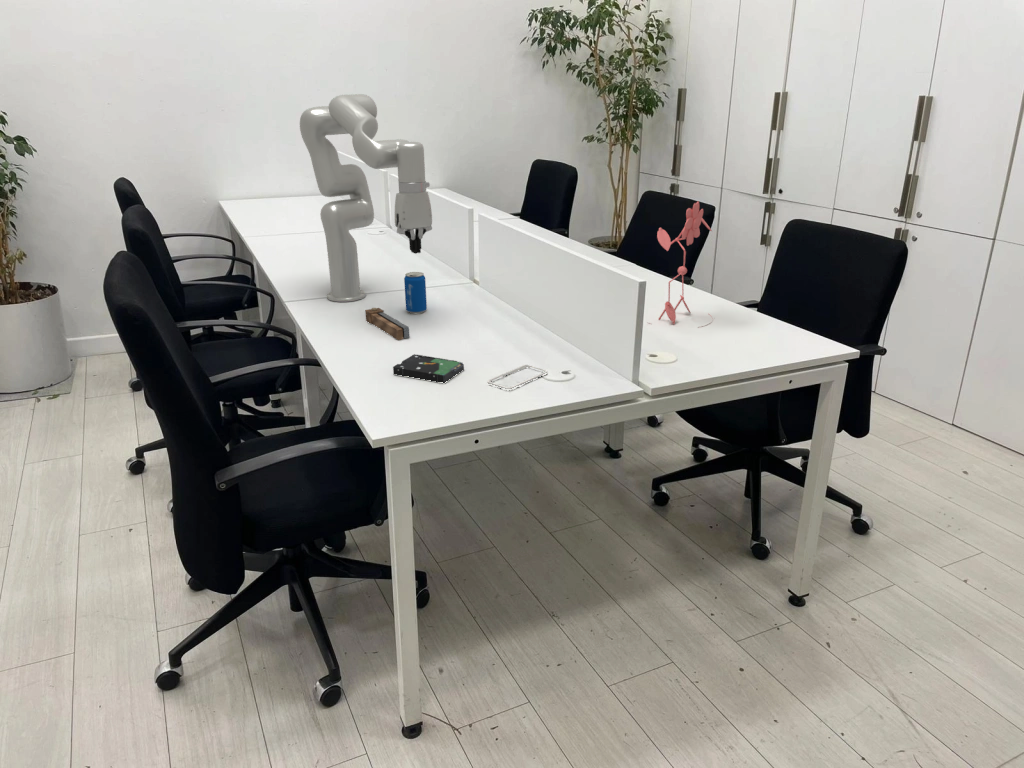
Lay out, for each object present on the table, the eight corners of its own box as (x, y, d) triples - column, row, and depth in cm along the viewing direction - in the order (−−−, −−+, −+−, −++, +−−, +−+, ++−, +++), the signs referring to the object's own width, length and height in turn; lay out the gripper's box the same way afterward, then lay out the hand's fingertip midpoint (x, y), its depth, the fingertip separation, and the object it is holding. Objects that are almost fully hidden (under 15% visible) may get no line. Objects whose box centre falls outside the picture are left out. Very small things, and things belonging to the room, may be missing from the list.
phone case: (509, 393, 182) (548, 375, 192) (509, 388, 182) (548, 370, 192) (486, 386, 186) (525, 368, 197) (485, 380, 186) (525, 363, 196)
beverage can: (402, 312, 241) (399, 275, 237) (413, 307, 246) (411, 270, 242) (419, 315, 238) (417, 277, 234) (430, 310, 244) (429, 272, 239)
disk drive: (392, 377, 193) (445, 385, 187) (392, 366, 192) (444, 374, 186) (414, 363, 201) (464, 371, 196) (413, 353, 200) (464, 360, 195)
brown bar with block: (366, 321, 233) (365, 308, 232) (379, 318, 235) (378, 305, 234) (396, 340, 217) (395, 326, 215) (410, 337, 219) (410, 323, 217)
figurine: (642, 326, 227) (652, 205, 213) (681, 306, 246) (693, 194, 232) (690, 337, 218) (704, 212, 205) (727, 315, 237) (742, 200, 224)
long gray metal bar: (378, 322, 231) (377, 312, 230) (383, 321, 232) (382, 312, 231) (404, 338, 218) (403, 328, 217) (409, 337, 218) (408, 327, 217)
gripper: (429, 184, 224) (432, 247, 231) (382, 188, 217) (386, 253, 224) (442, 187, 218) (444, 251, 225) (393, 191, 211) (397, 258, 218)
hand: (415, 252), depth 225 cm, fingers closed
